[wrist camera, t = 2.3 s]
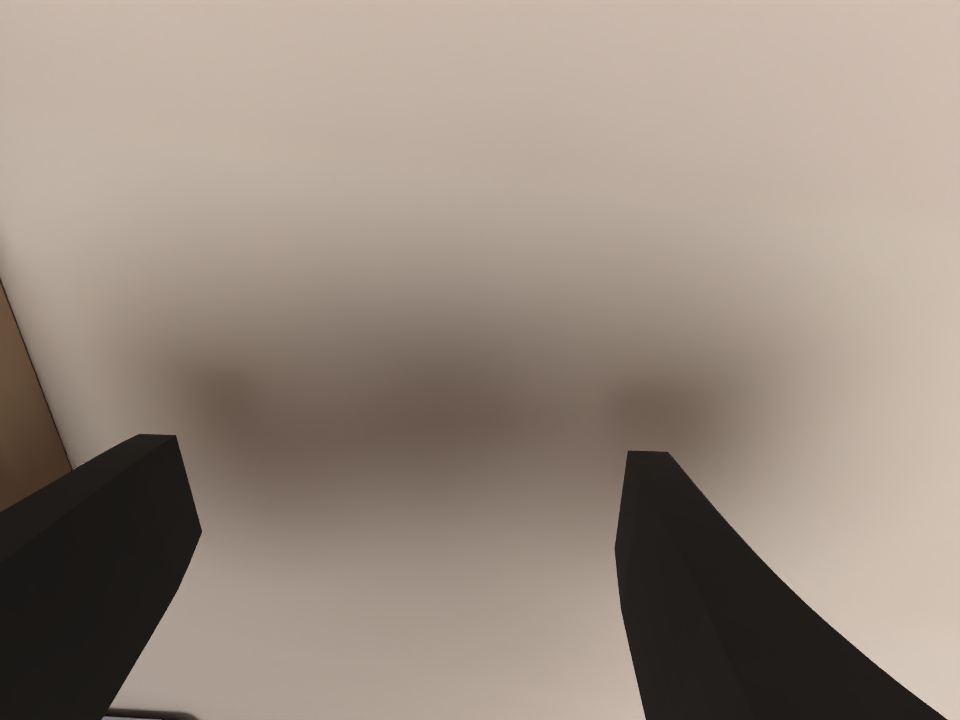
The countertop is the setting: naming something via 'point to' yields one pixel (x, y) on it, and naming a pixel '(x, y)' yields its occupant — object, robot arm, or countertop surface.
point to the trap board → (23, 421)
